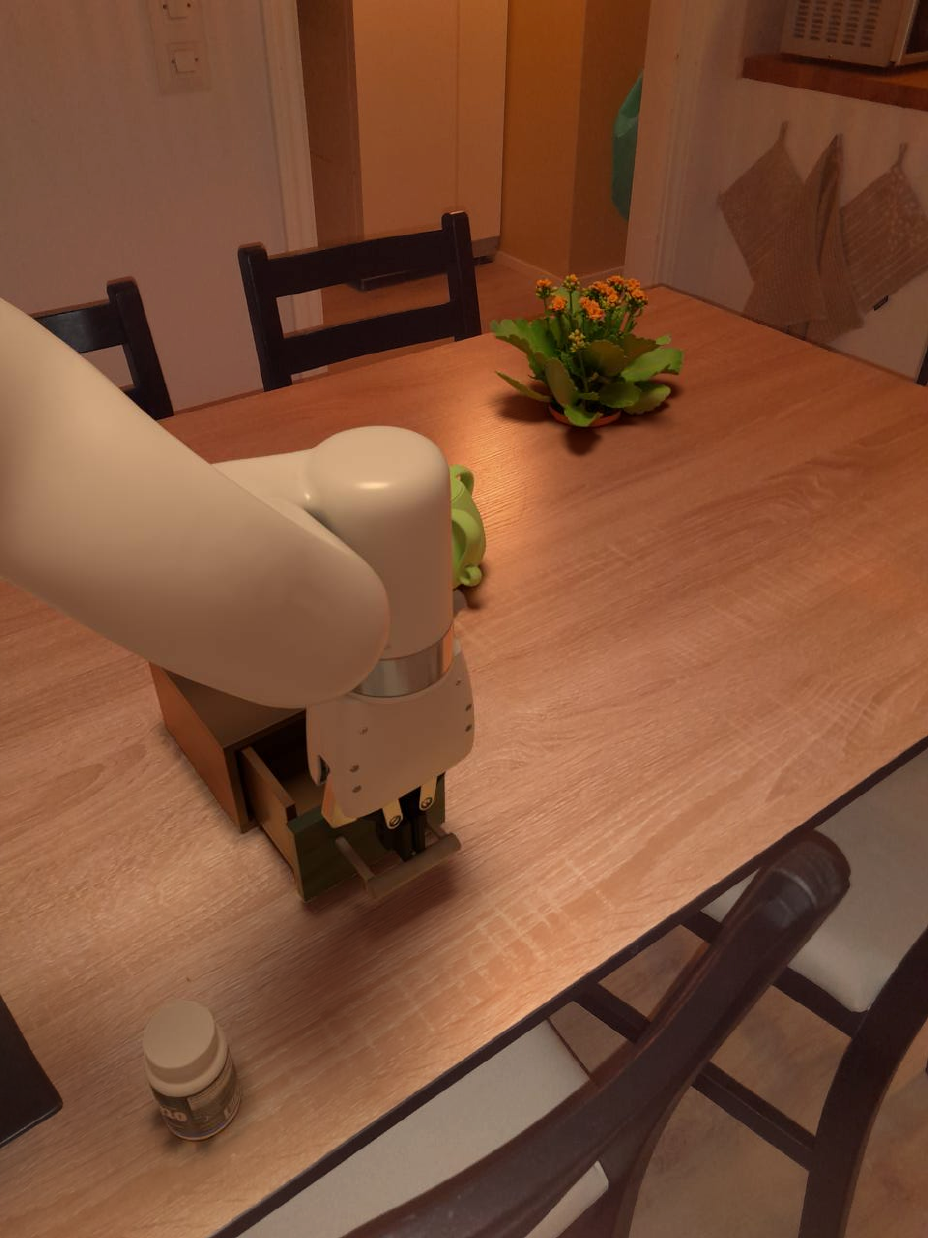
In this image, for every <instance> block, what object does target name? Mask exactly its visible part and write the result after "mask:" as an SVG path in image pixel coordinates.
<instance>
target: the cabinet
mask: <svg viewBox="0 0 928 1238" xmlns="http://www.w3.org/2000/svg"><path fill="white" fill-rule="evenodd" d="M147 663H148V666H149V670H150V674H151V677H152V681H153V685H154V688H155V693H156V696H157V700H158V703H159V707H160V710H161V715H162V718H163V722H164V725H165V728H166V729H167V730H168V732H169V733H170V735H171V736H172V737H173V739H174V740H175V742H176V743H177V745H178V746H179V748H180V749H181V751H182V753H184V755H185V756H186V757H187V759H188V760H189V762H190V763H191V764H192V766H193V767H194V769H195V770H196V772H197V773H198V774H199V776H200V777H201V779H202V780H203V781H204V783H205V784H206V786H207V787H208V788H209V790H210V791H211V793H212V794H213V796H214V797H215V799H216V800H217V801H218V803H219V804H220V805H221V807H222V809H223V810H224V812H226V814H227V815H228V817H229V819H231V821H232V823H233V824H234V825H235V826H236V828H237V830H238V831H239V832H240V833H241V834H244V833H246V832H248V831H249V830H252V829H254V828H255V827H257V826H259V825H261V824H260V823H259V821H258V820H257V819H256V817H255V816H254V814H253V813H252V812H251V810H250V809H249V808H248V806H247V805H246V804H245V800H244V796H243V791H242V786H241V781H240V776H239V772H238V767H237V762H236V757H235V753H234V751H235V750H237V749H239V748H241V747H243V746H246V745H248V744H250V743H252V742H254V741H256V740H258V739H260V738H262V737H264V736H266V735H269V734H271V733H273V732H275V731H277V730H279V729H281V728H283V727H285V726H287V725H289V724H292V723H294V722H296V721H298V720H300V719H302V718H304V717H306V708H295V709H290V708H277V707H270V706H265V705H261V704H257V703H254V702H251V701H248V700H245V699H242V698H239V697H237V696H234V695H231V694H228V693H226V692H223V691H220V690H217V689H215V688H212V687H209V686H207V685H204V684H201V683H199V682H196V681H193V680H190V679H188V678H185V677H183V676H181V675H178V674H176V673H173V672H171V671H169V670H167V669H164V668H162V667H160V666H158V665H156V664H154V663H152V662H150V661H147Z"/></svg>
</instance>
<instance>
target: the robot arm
mask: <svg viewBox="0 0 928 1238" xmlns="http://www.w3.org/2000/svg"><path fill="white" fill-rule="evenodd" d="M0 579H1V580H3V581H5V582H6V583H8V584H10V585H12V586H14V587H16V588H18V589H20V590H22V591H23V592H25V593H27V594H29V595H30V596H32V597H33V598H36V599H37V600H39V601H40V602H42V603H45V604H46V605H48V606H50V607H51V608H53V609H55V610H57V611H59V612H60V613H62V614H63V615H65V616H66V617H69V618H70V619H72V620H73V621H75V622H77V623H79V624H80V625H82V626H84V627H86V628H87V629H89V630H91V631H93V632H94V633H96V634H98V635H99V636H101V637H103V638H104V639H107V640H108V641H109V642H111V643H113V644H115V645H117V646H119V647H121V648H122V649H125V650H127V651H128V652H130V653H132V654H133V655H136V656H138V657H140V658H142V659H144V660H146V661H147V662H148V661H150V662H152V663H154V664H156V665H158V666H160V667H162V668H164V669H167V670H169V671H171V672H173V673H176V674H178V675H181V676H183V677H185V678H188V679H190V680H193V681H196V682H199V683H201V684H204V685H207V686H209V687H212V688H215V689H217V690H220V691H223V692H226V693H228V694H231V695H234V696H237V697H239V698H242V699H245V700H248V701H251V702H254V703H257V704H261V705H265V706H270V707H277V708H290V709H295V708H306V736H307V754H308V764H309V770H310V774H311V776H312V778H313V780H314V781H315V783H316V784H317V786H320V785H322V784H323V783H325V782H326V786H325V792H324V798H323V804H322V810H321V814H322V816H323V817H324V818H325V819H326V821H327V822H328V823H329V824H330V826H331V827H332V828H337V827H340V826H343V825H345V824H348V823H351V822H354V821H356V820H357V818H360V817H362V819H364V820H370V821H375V826H376V835H377V838H378V840H379V842H380V843H381V845H382V846H383V847H384V848H385V849H386V850H387V851H390V850H391V849H393V850H394V851H395V852H394V853H395V854H396V855H397V856H398V858H400V860H401V861H404V862H406V861H408V860H409V859H411V856H412V855H413V854H415V853H421V852H422V851H424V850H426V847H427V843H426V841H427V840H426V834H425V829H426V828H427V815H426V809H428V808H429V807H430V806H431V805H432V804H433V802H434V797H435V789H436V786H437V784H438V783H439V782H440V780H441V779H442V777H443V776H444V775H446V773H447V771H449V770H451V769H452V768H454V767H455V766H456V765H459V764H460V763H461V762H463V760H465V759H466V758H467V757H468V756H469V754H470V753H471V752H472V749H473V746H474V740H475V725H476V724H475V723H476V722H475V705H474V696H473V688H472V683H471V677H470V672H469V668H468V663H467V660H466V658H465V654H464V652H463V648H462V646H461V643H460V641H459V639H458V637H457V635H456V634H455V619H456V618H457V617H458V615H459V613H463V612H464V611H466V610H467V607H468V603H467V599H466V597H465V595H464V593H463V592H462V591H460V589H453V581H452V511H451V479H450V470H449V464H448V460H447V459H446V457H445V455H444V453H443V452H442V449H440V447H439V446H438V445H436V443H435V442H433V440H432V439H430V438H428V437H426V436H425V435H423V434H420V433H418V432H416V431H414V430H412V429H411V430H410V429H408V428H404V427H399V426H394V425H393V426H392V425H367V426H366V425H365V426H358V427H354V428H350V429H346V430H342V431H340V432H337V433H335V434H333V435H331V436H329V437H327V438H325V439H324V440H323V441H321V442H320V443H319V444H317V445H316V446H315V447H312V448H307V449H302V450H296V451H292V452H285V453H279V454H277V453H276V454H272V455H265V456H258V457H257V456H256V457H250V458H240V459H234V460H226V461H221V462H215V463H209V462H208V461H206V460H205V459H204V458H202V457H201V456H200V455H199V454H197V453H196V452H194V451H193V450H192V449H191V448H189V447H188V446H187V445H185V444H184V443H183V441H181V440H179V439H178V438H177V437H175V435H173V434H172V433H170V432H169V431H168V430H166V428H164V427H163V426H162V425H161V424H160V423H158V422H157V421H156V420H155V419H153V418H152V417H151V416H150V415H149V414H147V413H146V411H144V410H143V409H142V408H141V407H140V406H139V405H137V404H136V402H134V401H133V400H132V399H131V398H130V397H129V396H128V395H126V394H125V392H124V391H123V390H121V389H120V388H119V387H118V386H117V385H116V384H114V383H113V382H112V381H111V380H110V379H109V378H108V377H107V376H106V375H105V374H103V373H102V371H101V370H99V369H98V368H97V367H96V366H94V365H93V364H92V363H91V362H90V361H89V360H87V359H86V358H85V357H84V356H82V355H81V354H80V353H79V352H77V351H76V350H75V349H74V348H72V347H71V346H70V345H68V344H67V343H66V342H65V341H63V340H62V339H61V338H59V337H58V336H57V335H55V333H53V332H52V331H50V330H49V329H48V328H46V327H45V326H43V325H42V324H40V323H39V322H38V321H37V320H35V319H34V318H33V317H31V316H30V315H29V314H27V313H25V312H24V311H23V310H21V309H20V308H18V307H16V306H15V305H14V304H12V303H10V302H9V301H6V300H5V299H3V298H2V297H0Z"/></svg>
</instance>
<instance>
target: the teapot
mask: <svg viewBox="0 0 928 1238" xmlns="http://www.w3.org/2000/svg"><path fill="white" fill-rule="evenodd" d="M448 467H449V470H450V479H451V511H452V581H453V590H456V589H457V588H458V587H459V586H461V585H463V586H466V587H476V586H477V585H478V584H480V583H481V581H482V578H483V573H482V571H481V569H480V568H479V567H478V566H479V565H480V563H481V562H482V561H483V558H484V556H485V553H486V549H487V538H486V531H485V527H484V526H485V525H484V521H483V518H482V515H481V513H480V511H479V509H478V507H477V505H476V503H475V501H474V499H473V492H474V486H475V477H474V474H473V472H472V471H471V470H470V469H469V468H468V467H467V466H464V465H460V464H452V465H448ZM458 478H459V479H458Z"/></svg>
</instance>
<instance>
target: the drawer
mask: <svg viewBox="0 0 928 1238" xmlns="http://www.w3.org/2000/svg"><path fill="white" fill-rule="evenodd" d="M234 753H235V757H236V762H237V767H238V772H239V776H240V781H241V786H242V791H243V796H244V800H245V804H246V805H247V806H248V808H249V809H250V810H251V812H252V813H253V814H254V816H255V817H256V819H257V820H258V821H259V823H260V824H259V825H260V826H261V827H262V828H263V830H264V831H265V832H266V834H267V835H268V836H269V838H270V839H271V841H272V842H273V843H274V845H275V846H276V848H277V849H279V852H280V853H281V855H283V857H284V859H286V861H287V862H288V864H289V865H290V866H291V868H292V869H293V876H294V881H295V886H296V892H297V894H298V896H299V897H300V898H301V900H302V901H303V903H304V904H306V903H310V901H312V900H314V899H316V898H317V897H319V896H321V895H323V894H325V893H326V892H328V891H329V890H331V889H332V888H335V887H337V886H338V885H340V884H341V883H344V882H345V881H347V880H348V879H350V878H352V877H354V876H355V875H357V874H358V875H359V876H360V877H361V879H362V880H363V881H364V882H365V888H366V891H367V893H368V895H369V896H370V898H371V899H372V900H373V901H374V902H377V901H379V900H381V899H382V898H384V897H386V896H387V895H389V894H391V893H392V892H394V891H395V890H397V889H399V888H400V887H402V886H404V885H406V884H407V883H409V882H411V881H412V880H415V878H417V877H419V876H420V875H422V874H423V873H424V874H425V872H427V871H428V870H430V869H432V868H433V867H436V866H437V865H438V864H441V863H442V862H443V861H446V860H447V859H448V858H450V857H452V856H454V855H455V854H457V853H458V852H460V851H461V850H462V844H461V841H460V839H459V837H458V836H457V835H456V834H455V833H454V832H446V831H445V830H444V828H443V827H442V825H443V824H445V823H446V777H445V775H446V774H445V775H444V776H443V777H442V779H441V780H440V782H439V783H438V784H437V786H436V789H435V797H434V802H433V804H432V805H431V806H430V807H429V808H428V809H426V815H427V828H426V829H425V835H426V834H428V833H429V832H431V834H433V836H434V837H435V838H436V839H437V840H435V841H434V842H432V843H430V844H429V845H426V850H424V851H422V852H421V853H415V852H414V853H413V855H412V856H411V859H409V860H408V861H406V862H404V861H402V860H401V861H400V862H398V863H396V864H394V865H393V866H391V867H389V868H388V869H386V870H384V871H382V872H381V873H379V874H377V875H374V873H373V872H372V871H371V869H370V868H369V867H371V866H373V865H374V864H376V863H378V862H379V861H381V860H383V859H385V858H387V857H388V856H390V855H391V854H393V853H395V851H394V850H393V849H391V850H390V851H387V850H386V849H385V848H384V847H383V846H382V845H381V843H380V842H379V840H378V838H377V835H376V826H375V821H370V820H364V819H362V817H360V818H357V820H356V821H354V822H351V823H348V824H345V825H343V826H340V827H337V828H332V827H331V826H330V824H329V823H328V822H327V821H326V819H325V818H324V817H323V816H322V814H321V810H322V804H323V798H324V792H325V786H326V782H325V783H323V784H322V785H320V786H317V784H316V783H315V781H314V780H313V778H312V776H311V774H310V770H309V764H308V754H307V736H306V717H304V718H302V719H300V720H298V721H296V722H294V723H292V724H289V725H287V726H285V727H283V728H281V729H279V730H277V731H275V732H273V733H271V734H269V735H266V736H264V737H262V738H260V739H258V740H256V741H254V742H252V743H250V744H248V745H246V746H243V747H241V748H239V749H237V750H235V751H234Z"/></svg>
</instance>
